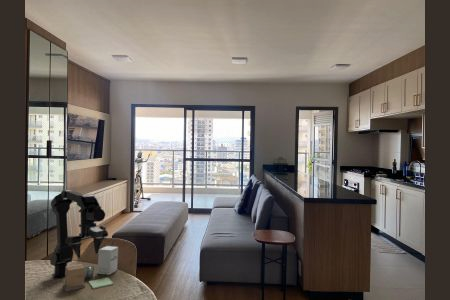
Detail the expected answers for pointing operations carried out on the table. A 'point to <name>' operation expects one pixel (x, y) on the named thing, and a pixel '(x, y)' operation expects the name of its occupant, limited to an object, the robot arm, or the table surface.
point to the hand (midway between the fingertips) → (88, 255)
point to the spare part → (89, 272)
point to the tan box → (74, 277)
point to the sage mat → (100, 283)
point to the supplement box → (107, 260)
